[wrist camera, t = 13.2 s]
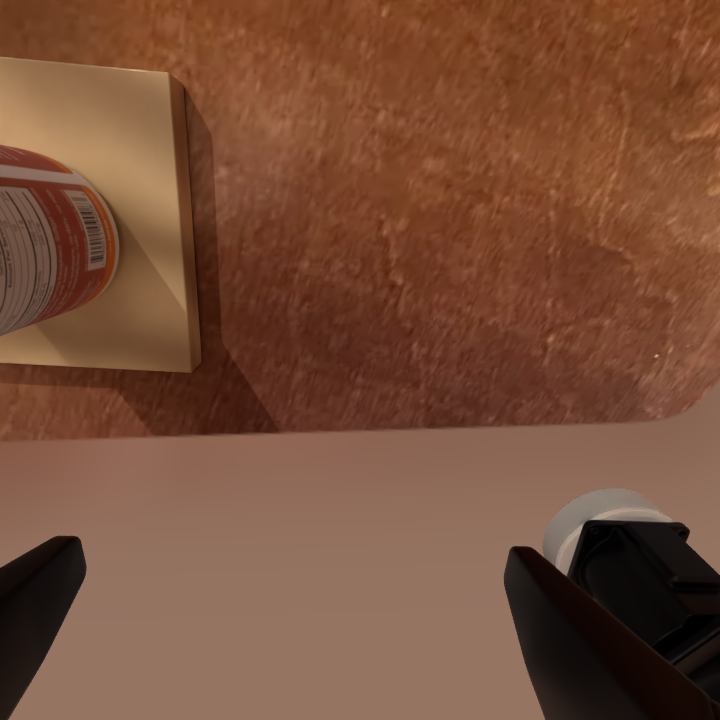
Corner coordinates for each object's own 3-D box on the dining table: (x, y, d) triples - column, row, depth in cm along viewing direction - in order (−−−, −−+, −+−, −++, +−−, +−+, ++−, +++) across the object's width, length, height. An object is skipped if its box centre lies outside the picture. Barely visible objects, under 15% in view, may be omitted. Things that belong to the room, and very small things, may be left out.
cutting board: (202, 362, 20) (191, 373, 19) (-28, 350, 20) (-56, 360, 18) (184, 84, 16) (168, 71, 15) (-107, 57, 16) (-151, 41, 14)
